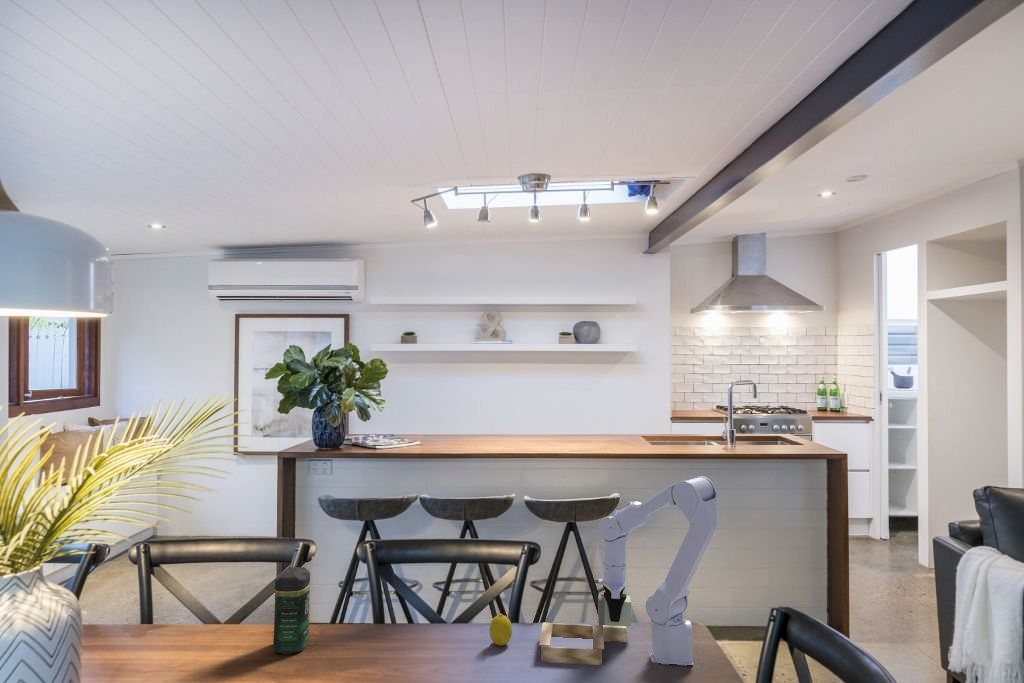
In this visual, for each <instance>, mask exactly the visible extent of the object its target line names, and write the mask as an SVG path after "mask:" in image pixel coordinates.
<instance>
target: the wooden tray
mask: <svg viewBox="0 0 1024 683" xmlns="http://www.w3.org/2000/svg"><path fill="white" fill-rule="evenodd" d="M551 637H563V638H582V639H593V649H589V648H570V647H551V646H550V642H551ZM539 638H540V639H539V642H538V643H539V644H538V646H539V647H540V656H541V657H540V662H541V663H552V664H553V663H555V664H571V665H573V664H574V665H589V666H591V665H592V666H602V665H603V650H605V641H604V638H603V625H599V624H578V623H560V622H555V623H554V622H542V626H541V632H540V637H539Z"/></svg>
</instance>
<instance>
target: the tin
mask: <svg viewBox="0 0 1024 683" xmlns="http://www.w3.org/2000/svg"><path fill="white" fill-rule="evenodd" d="M626 596H627V597H626V600H625V602H624V604H623V606H622V611H621V616H620V621H619V622H611V620H610V616H609V609H608V605H607V602H606V600H605V598H604V594H600V593H599V594H598V596H597V599H598V600H597V602H598V604H597V605H598V606H597V607H598V608H597V609H598V610H597V611H598V612H597V613H598V615H597V616H598V620H597V621H598V625H610V626H626V627H632V601H631V600H632V599H631V595H626Z"/></svg>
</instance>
